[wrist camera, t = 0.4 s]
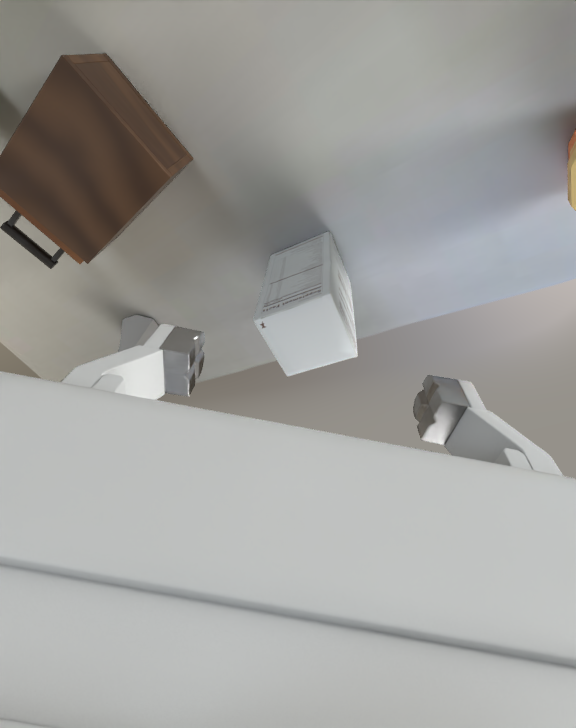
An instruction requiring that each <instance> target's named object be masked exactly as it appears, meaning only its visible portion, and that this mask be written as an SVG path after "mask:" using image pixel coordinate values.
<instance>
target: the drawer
mask: <svg viewBox="0 0 576 728" xmlns="http://www.w3.org/2000/svg"><path fill="white" fill-rule="evenodd" d="M0 197H1V198H3V199H4V200H5V201H6V202H7V203H8V204H10V205H11V206H12V207H13V208H14V209H15V210H16V211H15V212H14V214H13V215H12V217H11V218H10V220H9V221H6V222H5V223H3V224H2V226H1V227H0V228H1V229H2V230H3V231H4V232H6V233H7V234H8V235H9V236H11V237H12V238H13V239H14V240H16V241H17V242H18V243H19V244H21V245H22V246H23V247H24V248H25V249H27V250H28V251H29V252H30V253H32V254H33V255H34V256H35V257H37V258H38V259H39V260H40V261H42V262H43V263H44V264H45V265H46V266H48V267H49V268H50V269H52V268H53V267H54V266H55V265H56V264H57V263H58V261H57V260H58V259H59V258H60V257H61V256H62V254H63V253H64V252H66V253H67V254H68V255H70V256H71V257H72V258H73V259H74V260H75V261H77V262H78V263H79V264H81V263H82V262H83V261H84V260H82V259H81V258H80V257H79V256H78V255H77V254H75V253H74V252H73V251H72V250H71V249H70V248H69V247H67V246H66V245H65V244H64V243H63V242H62V241H60V240H59V239H58V238H57V237H56V236H55V235H53V234H52V233H51V232H50V231H49V230H48V229H46V228H45V227H44V226H43V225H42V224H41V223H39V222H38V221H37V220H36V219H35V218H34V217H33V216H31V215H30V214H29V213H28V212H27V211H26V210H24V209H23V208H22V207H21V206H20V205H19V204H17V203H16V202H15V201H14V200H13V199H12V198H10V197H9V196H8V195H7V194H6V193H5V192H3V191H2V190H1V189H0ZM21 215H23V216H24V217H25V218H26V219H27V220H28V221H30V222H31V223H32V224H33V225H34V226H35V227H37V228H38V229H39V230H40V231H41V232H42V233H44V234H45V235H46V236H47V237H48V238H50V239H51V240H52V241H53V242H54V243H55V244H57V245H58V246H59V247H60V249H59V250H58V251H57V252H56V254H55V255H54V256H53V257H52V256H51V255H50V254H48V253H47V252H46V251H45V250H44V249H42V248H41V247H40V246H39V245H38V244H36V243H35V242H34V241H33V240H31V239H30V238H29V237H28V236H27V235H25V234H24V233H23V232H22V231H21V230H19V229H18V228H17V227H16V226H15V223H16V222H17V221H18V219H19V218H20V217H21Z"/></svg>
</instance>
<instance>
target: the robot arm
mask: <svg viewBox="0 0 576 728" xmlns="http://www.w3.org/2000/svg"><path fill="white" fill-rule="evenodd" d="M204 343H205V334H204V332H201V331H197V330H192V329H187V328H182V327H178V326H177V327H176V326H173V325H167V324H160V325H159V327H158V328H157V329H156V330H155V332H154V333H153V334H152V335H151V337H150V338H149V339H148V340H147V341H146V343H145V344H144V345H143V346H141V345H138V346H135V347H132V348H129V349H126V350H123V351H120V352H117V353H114V354H112V355H109V356H106V357H103V358H100V359H97V360H94V361H91V362H88V363H85V364H82V365H79V366H76V367H75V368H74V369H73V370H72V371H71V372H70V373H69V374H68V375H67V376H66V377H65V378H64V379H63V380H62V381H61V382H56V381H50V380H45V379H39V378H34V377H29V376H23V375H18V374H13V373H7V372H2V371H0V728H576V478H570V477H566V476H563V475H562V473H561V472H560V470H559V468H558V467H557V465H556V464H555V462H554V461H553V459H552V457H551V456H550V455H549V454H547V453H546V452H545V451H543V450H542V449H541V448H539V447H538V446H537V445H535V444H534V443H533V442H531V441H530V440H529V439H527V438H526V437H525V436H523V435H522V434H521V433H519V432H518V431H517V430H515V429H514V428H513V427H511V426H510V425H509V424H507V423H506V422H504V421H503V420H501V419H500V418H499V417H498V416H496V415H495V414H494V413H492V412H491V411H487V410H486V408H485V406H484V405H483V403H482V401H481V399H480V397H479V395H478V393H477V391H476V389H475V388H474V386H473V384H472V383H471V382H469V381H464V380H457V379H450V378H444V377H438V376H432V375H427V377H426V378H425V380H424V381H423V383H422V384H423V387H424V390H422V391H421V392H419V393H418V394H417V396H416V398H415V401H414V407H413V412H414V417H415V419H416V420H418V421H419V424H418V426H417V428H418V431H419V435H420V438H421V440H423V441H427V442H432V443H437V444H441V445H445V448H446V449H447V450H448V451H449V452H450V453H451V455H448V454H442V453H437V452H432V451H426V450H421V449H416V448H410V447H405V446H399V445H394V444H389V443H383V442H377V441H373V440H367V439H362V438H356V437H351V436H346V435H340V434H335V433H330V432H324V431H318V430H313V429H308V428H303V427H297V426H292V425H287V424H281V423H276V422H270V421H265V420H260V419H254V418H249V417H244V416H238V415H233V414H228V413H222V412H217V411H211V410H206V409H201V408H195V407H190V406H185V405H179V404H173V403H168V402H163V401H157V400H156V399H158V398H159V397H161V396H163V395H164V394H165V393H168V394H174V395H180V396H187V397H189V396H190V394H191V392H192V389H193V388H194V386H195V379H196V378H198V377H199V376H200V373H201V371H202V367H203V362H204V352H203V350H202V349H201V348H202V346H203V345H204Z"/></svg>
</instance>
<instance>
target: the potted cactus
mask: <svg viewBox="0 0 576 728" xmlns="http://www.w3.org/2000/svg"><path fill="white" fill-rule="evenodd" d="M568 158H569V161H568V163H567V168H568V201H569V203H570V205H571V206H572V208H573V209H574V210H575V211H576V129H575V131H574V133H573V135H572V137H571V139H570V142H569V144H568Z"/></svg>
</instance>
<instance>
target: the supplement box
mask: <svg viewBox="0 0 576 728" xmlns="http://www.w3.org/2000/svg"><path fill="white" fill-rule="evenodd" d="M253 321H254V323H255V324H256V326H257V328H258V329H259V331H260V333H261V334H262V336H263V338H264V339H265V341H266V343H267V344H268V346H269V348H270V349H271V351H272V352H273V354H274V356H275V357H276V359H277V361H278V362H279V364H280V366H281V367H282V369H283V371H284V372H285V374H286V375H287V376H291V375H294V374H297V373H301V372H304V371H308V370H311V369H315V368H318V367H322V366H326V365H329V364H332V363H336V362H339V361H343V360H346V359H350V358H353V357H357V355H358V354H357V353H358V352H357V342H356V332H355V323H354V313H353V303H352V293H351V284H350V281H349V278H348V275H347V273H346V270H345V268H344V265H343V262H342V260H341V257H340V255H339V252H338V250H337V247H336V244H335V242H334V239H333V236H332V234H331V232H330V231H328V232H325V233H323V234H320V235H318V236H316V237H313V238H311V239H308V240H306V241H304V242H301V243H299V244H296V245H294V246H292V247H289V248H287V249H284V250H282V251H280V252H277V253H275V254H273V255H271V256H270V259H269V263H268V267H267V270H266V274H265V278H264V281H263V285H262V289H261V292H260V296H259V300H258V303H257V307H256V311H255V314H254V318H253Z"/></svg>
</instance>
